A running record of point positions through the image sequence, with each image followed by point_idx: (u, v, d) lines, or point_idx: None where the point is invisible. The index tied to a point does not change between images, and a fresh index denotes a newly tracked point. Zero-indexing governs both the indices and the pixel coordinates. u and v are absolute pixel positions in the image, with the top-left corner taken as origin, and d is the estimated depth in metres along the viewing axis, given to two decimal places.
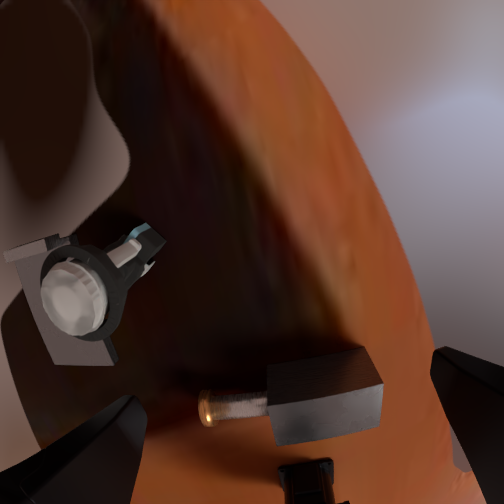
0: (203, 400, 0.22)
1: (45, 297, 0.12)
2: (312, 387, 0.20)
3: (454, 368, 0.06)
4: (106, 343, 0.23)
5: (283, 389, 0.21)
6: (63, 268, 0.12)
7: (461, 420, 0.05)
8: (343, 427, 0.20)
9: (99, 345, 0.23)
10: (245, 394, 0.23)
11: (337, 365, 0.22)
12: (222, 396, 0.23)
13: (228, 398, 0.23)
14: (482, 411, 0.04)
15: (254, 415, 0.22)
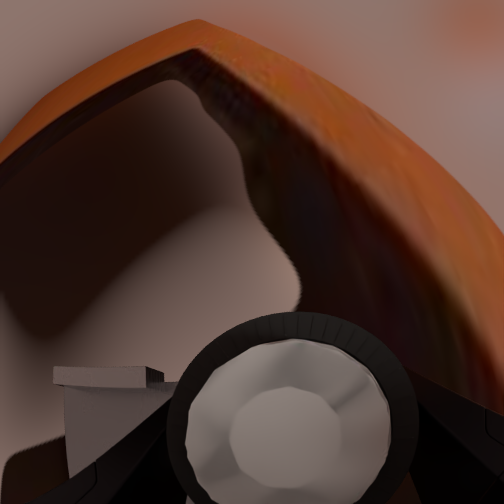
0: None
1: (205, 419, 0.05)
2: None
3: None
4: None
5: None
6: (297, 344, 0.05)
7: None
8: None
9: None
10: None
11: None
12: None
13: None
14: (423, 437, 0.05)
15: None
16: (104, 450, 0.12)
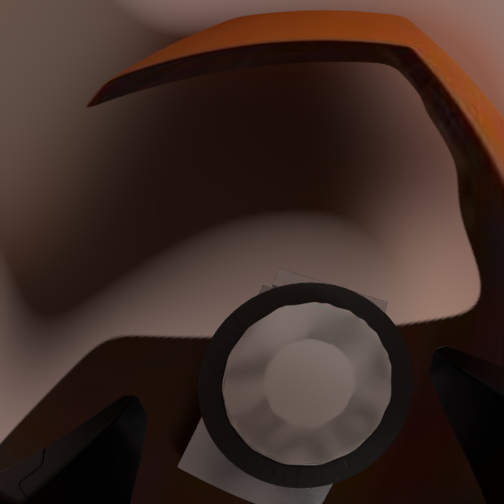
0: None
1: (242, 369, 0.06)
2: None
3: (454, 368, 0.06)
4: (328, 489, 0.12)
5: None
6: None
7: (461, 420, 0.05)
8: None
9: (318, 487, 0.12)
10: None
11: None
12: None
13: None
14: (482, 411, 0.04)
15: None
16: None
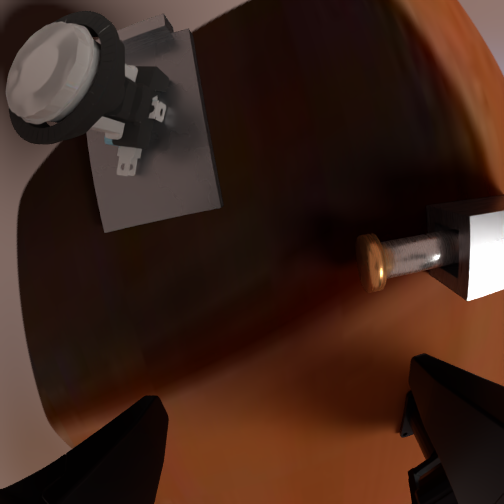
0: (372, 239, 0.16)
1: (11, 90, 0.07)
2: (494, 207, 0.14)
3: (430, 377, 0.06)
4: (214, 171, 0.17)
5: (469, 210, 0.14)
6: (34, 38, 0.06)
7: (437, 430, 0.05)
8: None
9: (203, 173, 0.17)
10: None
11: (496, 200, 0.16)
12: None
13: (399, 239, 0.16)
14: (457, 423, 0.05)
15: (433, 261, 0.15)
16: None
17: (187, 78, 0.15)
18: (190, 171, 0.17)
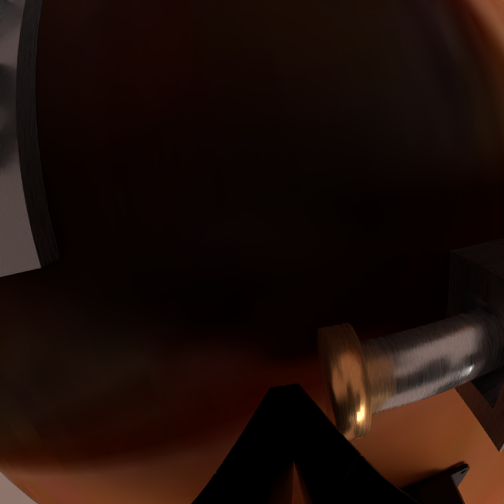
0: (347, 351, 0.06)
1: None
2: None
3: (285, 412, 0.06)
4: (31, 203, 0.08)
5: None
6: None
7: (296, 468, 0.06)
8: None
9: (14, 208, 0.08)
10: (444, 321, 0.07)
11: None
12: (386, 337, 0.07)
13: (410, 337, 0.07)
14: (297, 469, 0.05)
15: (472, 376, 0.06)
16: None
17: (8, 53, 0.06)
18: (2, 205, 0.08)
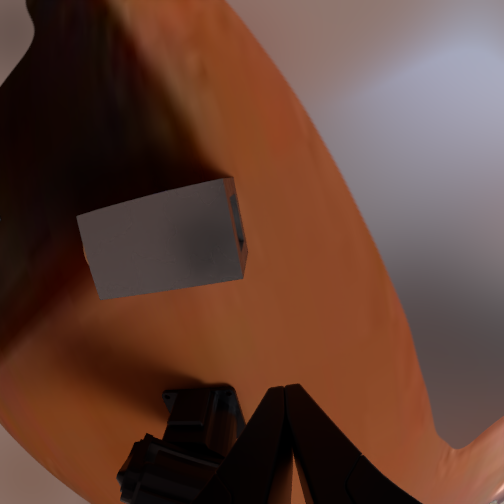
0: None
1: None
2: None
3: (286, 412, 0.06)
4: None
5: None
6: None
7: (297, 467, 0.06)
8: (180, 268, 0.15)
9: None
10: None
11: None
12: None
13: None
14: (298, 469, 0.05)
15: None
16: None
17: None
18: None
